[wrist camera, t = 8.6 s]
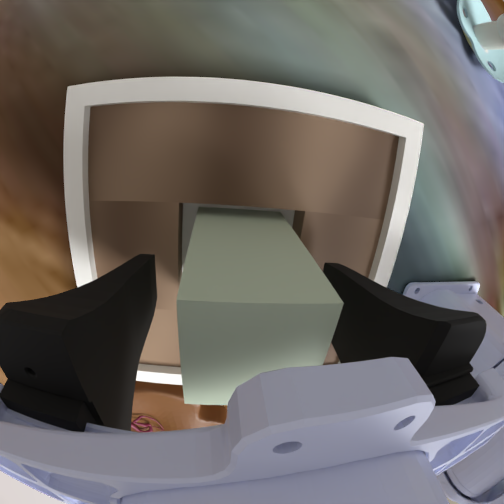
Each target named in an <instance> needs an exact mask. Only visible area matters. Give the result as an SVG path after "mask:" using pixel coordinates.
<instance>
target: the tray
mask: <svg viewBox="0 0 504 504" xmlns="http://www.w3.org/2000/svg"><path fill="white" fill-rule="evenodd" d="M149 102H192V103H215V104H230V105H241V106H251V107H260V108H269V109H276V110H283V111H290V112H296V113H302V114H308V115H313V116H318V117H323V118H328V119H333V120H338V121H342V122H346V123H351V124H355V125H359V126H363V127H367V128H371V129H374V130H378V131H381V132H385V133H388V134H392V135H395V136H398V137H399V141H398V148H397V155H396V161H395V167H394V173H393V179H392V184H391V189H390V194H389V199H388V204H387V208H386V213H385V217H384V221H383V226H382V230H381V234H380V238H379V242H378V245H377V249H376V253H375V257H374V260H373V264H372V267H371V271H370V274H369V277H368V278H369V279H371V280H373V281H374V282H376V283H378V284H380V285H382V286H384V287H386V288H387V285H388V282H389V279H390V276H391V273H392V270H393V267H394V264H395V260H396V257H397V254H398V250H399V247H400V243H401V240H402V236H403V232H404V228H405V224H406V220H407V216H408V212H409V208H410V203H411V199H412V194H413V189H414V184H415V179H416V174H417V168H418V162H419V156H420V150H421V143H422V135H423V127H424V123H421V122H419V121H416V120H414V119H411V118H408V117H406V116H403V115H400V114H397V113H394V112H391V111H388V110H385V109H382V108H379V107H376V106H372V105H369V104H366V103H362V102H359V101H355V100H351V99H348V98H344V97H340V96H336V95H331V94H327V93H323V92H318V91H313V90H308V89H303V88H298V87H292V86H286V85H280V84H273V83H266V82H258V81H249V80H239V79H227V78H210V77H145V78H130V79H118V80H108V81H100V82H92V83H86V84H79V85H73V86H68V88H67V97H66V108H65V122H64V155H63V158H64V191H65V206H66V217H67V227H68V235H69V242H70V249H71V256H72V262H73V268H74V273H75V278H76V283H77V287H80V286H82V285H85V284H87V283H89V282H91V281H93V280H95V279H97V272H96V265H95V258H94V250H93V242H92V232H91V221H90V207H89V186H88V141H89V121H90V107H92V106H101V105H112V104H126V103H149ZM198 207H217V208H233V209H248V210H262V211H275V212H281V213H282V215H283V216H284V218H285V219H286V220H287V222H288V223H289V225H290V226H291V227H292V226H293V219H294V213H295V210H287V209H275V208H262V207H248V206H233V205H217V204H198V203H183V220H182V272H183V268H184V263H185V259H186V255H187V251H188V247H189V242H190V238H191V234H192V230H193V226H194V223H195V219H196V215H197V211H198ZM338 364H340V360H339V362H338ZM136 381H143V382H153V383H163V384H175V385H182V375H181V367H171V366H159V365H148V364H139V365H138V370H137V376H136Z"/></svg>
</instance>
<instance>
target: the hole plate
mask: <svg viewBox="0 0 504 504" xmlns="http://www.w3.org/2000/svg"><path fill="white" fill-rule="evenodd" d="M398 141H399V137H398V136H395V135H392V134H388V133H385V132H381V131H378V130H374V129H371V128H367V127H363V126H359V125H355V124H351V123H346V122H342V121H338V120H333V119H328V118H323V117H318V116H313V115H308V114H302V113H296V112H290V111H283V110H276V109H269V108H260V107H251V106H241V105H230V104H215V103H192V102H149V103H126V104H112V105H101V106H92V107H90V121H89V141H88V186H89V207H90V221H91V232H92V242H93V250H94V258H95V265H96V272H97V278H99V277H101V276H103V275H105V274H106V273H108V272H110V271H112V270H114V269H115V268H117V267H119V266H120V265H122V264H123V263H125V262H127V261H128V260H130V259H132V258H133V257H135V256H137V255H139V254H155V267H156V284H157V302H156V307H155V312H154V317H153V320H152V323H151V326H150V329H149V332H148V335H147V338H146V341H145V344H144V347H143V350H142V353H141V357H140V361H139V364H148V365H159V366H171V367H181V364H180V352H179V338H178V322H177V301H176V300H177V295H178V290H179V286H180V281H181V277H182V220H183V203H198V204H217V205H233V206H248V207H262V208H275V209H287V210H295V213H294V219H293V226H292V229H293V230H294V231H295V233H296V234H297V236H298V237H299V239H300V240H301V241H302V243H303V244H304V246H305V247H306V248H307V250H308V251H309V253H310V254H311V256H312V257H313V258H314V260H315V261H316V263H317V264H318V266H319V267H320V269H321V270H322V272H323V268H324V264H325V263H339V264H342V265H344V266H346V267H348V268H350V269H352V270H354V271H356V272H358V273H360V274H361V275H363V276H365V277H367V278H368V277H369V274H370V271H371V267H372V264H373V260H374V257H375V253H376V249H377V245H378V242H379V238H380V234H381V230H382V226H383V221H384V217H385V213H386V208H387V204H388V199H389V194H390V189H391V184H392V179H393V173H394V167H395V161H396V155H397V148H398ZM338 362H339V358H338V356H337V353H336V351H335V349H334V347H333V345H332V343H331V344H330V346H329V349H328V352H327V355H326V358H325V360H324V363H323V365H330V364H338Z"/></svg>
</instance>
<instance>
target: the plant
mask: <svg viewBox="0 0 504 504" xmlns="http://www.w3.org/2000/svg"><path fill="white" fill-rule="evenodd" d="M226 418H227V409H226V408H225V407H224V406H221V405H200V404H185V403H184V394H183V385H175V384H163V383H153V382H143V381H136V383H135V390H134V398H133V407H132V419H131V431H133V432H139V433H141V432H160V431H173V430H183V429H192V428H200V427H208V426H214V425H221V424H225V421H226Z"/></svg>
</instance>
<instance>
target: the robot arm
mask: <svg viewBox="0 0 504 504" xmlns="http://www.w3.org/2000/svg"><path fill="white" fill-rule="evenodd" d="M323 273H324V274H325V276H326V277H327V279H328V280H329V282H330V283H331V285H332V286H333V288H334V289H335V291H336V292H337V294H338V295H339V297H340V298H341V300H342V301H343V303H344V304H343V307H342V310H341V314H340V317H339V320H338V323H337V326H336V329H335V332H334V335H333V338H332V341H331V343H332V345H333V347H334V349H335V351H336V353H337V356H338V358H339V360H340V364H330V365H319V366H305V367H287V368H282V369H278V370H273V371H268V372H263V373H260V374H258V375H256V376H255V377H253V378H251V379H250V380H248V381H246V382H244V383H243V384H241V385H239V386H237V387H236V389H235V391H234V392H233V394H232V396H231V398H230V400H229V401H228V406H227V418H226V421H225V424H221V425H214V426H208V427H200V428H192V429H183V430H173V431H160V432H141V433H139V432H133V431H131V419H132V407H133V398H134V390H135V383H136V376H137V370H138V365H139V361H140V357H141V353H142V350H143V347H144V344H145V341H146V338H147V335H148V332H149V329H150V326H151V323H152V320H153V317H154V312H155V307H156V302H157V284H156V267H155V254H139V255H137V256H135V257H133V258H132V259H130V260H128V261H127V262H125V263H123V264H122V265H120V266H119V267H117V268H115V269H114V270H112V271H110V272H108V273H106V274H105V275H103V276H101V277H99V278H97V279H95V280H93V281H91V282H89V283H87V284H85V285H82V286H80V287H77V288H75V289H72V290H69V291H66V292H63V293H60V294H56V295H53V296H49V297H44V298H40V299H34V300H28V301H20V302H10V303H6V304H5V305H4V306H3V307H2V309H1V310H0V366H1V368H2V370H3V372H4V373H5V375H6V377H7V378H8V380H7V381H6V383H5V385H4V386H3V385H2V384H1V383H0V471H2V472H3V473H5V474H7V475H9V476H11V477H12V478H14V479H16V480H18V481H20V482H22V483H23V484H25V485H27V486H29V487H31V488H33V489H35V490H37V491H39V492H41V493H44V494H46V495H48V496H50V497H52V498H55V499H57V500H59V501H62V502H64V503H67V504H449V502H448V500H447V498H449V499H450V500H452V501H454V502H457V503H458V504H504V317H503V316H501V315H500V314H499V313H498V312H497V311H496V310H495V309H494V308H493V307H491V306H490V305H489V304H488V303H487V302H486V301H485V300H483V299H482V298H481V297H480V296H479V295H478V294H477V292H478V290H479V287H480V284H479V283H478V282H477V281H468V282H412V283H409V284H408V285H407V286H406V288H405V290H404V293H403V295H402V294H399V293H397V292H395V291H392V290H390V289H388V288H386V287H384V286H382V285H380V284H378V283H376V282H374V281H373V280H371V279H369V278H367V277H365V276H363V275H361V274H360V273H358V272H356V271H354V270H352V269H350V268H348V267H346V266H344V265H342V264H339V263H325V264H324V268H323Z"/></svg>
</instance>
